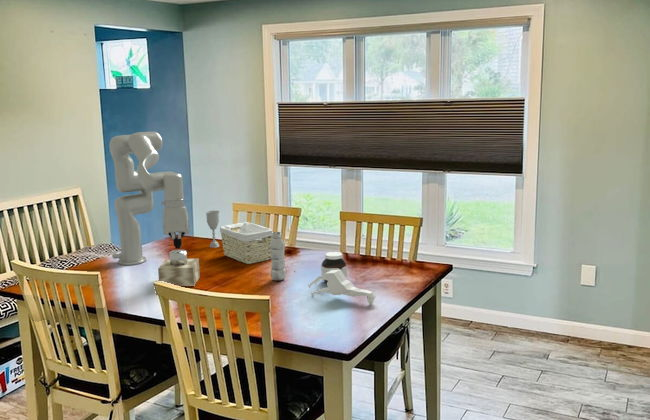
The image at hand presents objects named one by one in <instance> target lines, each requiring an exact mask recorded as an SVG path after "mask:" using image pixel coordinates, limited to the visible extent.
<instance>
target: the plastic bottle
mask: <svg viewBox="0 0 650 420" xmlns="http://www.w3.org/2000/svg"><path fill="white" fill-rule="evenodd" d="M285 249H286V245H285V242H284V240H283V239H282V232H281V231H275V232H273V234H272V241H271V243H270V252H271V258H272V259H270V260H271V270H270V276H271V277H270V278H271V280H273V281H283V280H285V279H286V278H287V270H286V265H285Z"/></svg>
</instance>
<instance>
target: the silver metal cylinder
mask: <svg viewBox="0 0 650 420" xmlns="http://www.w3.org/2000/svg"><path fill="white" fill-rule="evenodd" d="M187 253H188V251H187V250H186V249H173V250H171V251H169V253H168V255H169V259H170V265H172V266H181V265H185V264H187V259H188V254H187Z"/></svg>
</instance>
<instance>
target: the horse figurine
mask: <svg viewBox="0 0 650 420" xmlns="http://www.w3.org/2000/svg"><path fill="white" fill-rule="evenodd" d="M321 280H322V281H324V280H328V282H327V283H326V285H327V287H323V288H319V289H317V291H313V292H311V293H310V294H311V296H312V297H314V295H315V294H320V293H329V294H330V295H332V296H341V295H343V296H349V297H358V296H359V297H366V301H367V303H368V305H369V306H372V305H374V304H373V303H374V302H375V299H376V295H375V293H374V292H373V291H370V290H368V289H361V288H359V287H356V286H355V285H354V284H353V283H352V282H351V281H350V280H348V279H347V277H345V276H344V274H343V272H342V271H341V270H331V271H329V272H327V273H325V274H324V275H323V276H322V275H319V276H317V278H315V279H314V280H313V281H312V282H311V283H309V284H307V285H308V288H309V289H311V287H312V285H314V286H317V283H319V281H321Z"/></svg>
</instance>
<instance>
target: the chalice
mask: <svg viewBox="0 0 650 420" xmlns="http://www.w3.org/2000/svg"><path fill="white" fill-rule="evenodd" d="M204 212H205V214H206V223H207V225H208V228H209V229H210V230H212V241H211V242H210V244H209V248H219V247H220V244H219V242H218V241H217V240H216V232H215V231H216V229H217V228H218V225H219V222H220V216H219V215H220V211H219V210H208V211H204Z"/></svg>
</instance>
